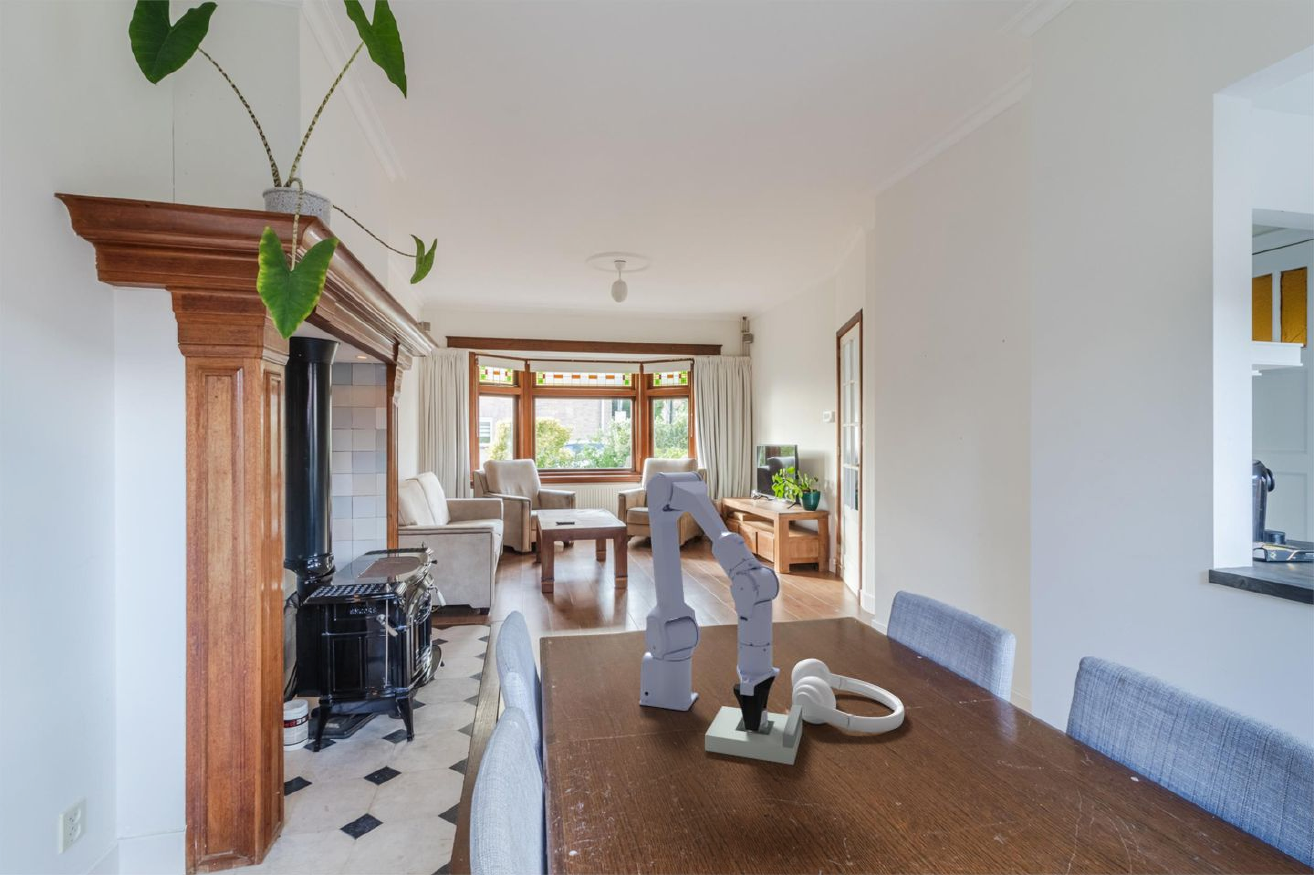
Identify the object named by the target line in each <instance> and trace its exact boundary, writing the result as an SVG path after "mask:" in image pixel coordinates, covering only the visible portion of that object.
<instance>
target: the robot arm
mask: <svg viewBox="0 0 1314 875" xmlns="http://www.w3.org/2000/svg"><path fill="white" fill-rule="evenodd" d="M645 489H646V501H647V511H648V512H647V513H648V520H649V531H650V542H651V543H650V544H651V553H652V565H653V567H652V568H653V576H654V587H655V598H656V604H655V606H654V607H653V608H652V609H651V610H650V612H648V614H647V615H646V617H645V620H646V628H645V631H644V632H645V633H644V644H645V647H646V649H647V651H646V652H645V653H644V655H643V657H642V658H641V664H640V700H639V702H638V705H641V706H647V707H655V708H663V709H668V710H675V711H683V712H686V711H688V710H689V708H691V706H692V704H693V703H694V702H695V700H696V699H697V698H698V697H699V694H698V692H692V655H693V654H695V648H697V647H698V645H699V644H700V641H701V629H700V627H699V624H698V621H697V617H696V611H695V610H694V609H693V608H692V607H691V606H690V605H688V604H687V603H686V602H685V593H684V592H685V591H684V584H683V574H682V572H683V571H682V561H681V553H680V552H681V551H680V543H679V542H680V541H679V539H680V538H679V531H678V521H679V519H680V518H681V516H682V515H683V514H684V513H685V512H686V513H689V515H691V517H692V519H694V520H695V522H696V523H697V525H698V526H700V528H701V529H702V530H703V532H704V533H705V534H706V535H707V537H708V538H709V539H710V541H711V542H712V546H711V553H712V555H713V556H714V558H715V560H716V561H717V563H718V564H719V566H720V567H721V568H722V570H723V572H724V573H725V574H726V576H727V577H728V579H729V581H730V582H731V584H729V591H730V595H731V597H732V599H733V602H734V606H735V607H734V611H735V612H736V614H737V666H736V673H737V677H738V678H739V681H740V682H739V683H735V684H734V685H733V687H732V688H733V695H734V696H735V697H736V700H737V702H738V704H739V707H740V709H741V712H742V716H743V721H744V725H745V729H746V730H750V731H758V730H759V727H760V723H761V716H762V709H763V708H765V709H766V710H767V707H768V700H769V695H770V692H771V687H772V685H773V683H774V681H775V679H776V677H779V676H780V673H781V672H780V671H781V669H780V668H778V667H774V666H773V601H774V600H775V599H776V598H778V596H779V593H780V587H781V586H780V580H779V578H778V576H777V574H776V571H775V570H774V569H773V568H772V567H770V566H768V565H764V564H763V563H762V562H761V561H759V560H758V559H757V558H756V556H755V555H754V553H752V551H751V550H750V548H749V547H748V544H746V543H745V542H746V539H745V538H744V537H743V536H742V535H740V534H739V533H737V532H731V531H729V529H728V528H727V526H726V525H725V523H724V520H723V519H722V517H721V516H720V514H719V512H718V510H717V509H716V508H715V505H714V504H713V502H712V500H711V499H710V497H709V496H708V484H707V483H706V482H705V481H704V478H702V475H700V473H698V472H697V471H695V470H694V471H693V470H691V471H686V472H684V471H683V472H680V471H679V472H661V471H658V472H655V473H654V474H652V476H651V477H650V479H649V480H648V482H647V484H646V485H645Z"/></svg>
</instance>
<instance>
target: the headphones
mask: <svg viewBox="0 0 1314 875" xmlns="http://www.w3.org/2000/svg"><path fill="white" fill-rule="evenodd" d="M791 685H792V693H791V695H792V696H791V698H792V699H791V700H792V701H791V702H792V705H793V704H795V705H802V720H804V721H805V722H807V723H810V724H813V725H820V724H821V725H822V724H825V723H826V722H827V723H829V724H832V725H834V726H837V727H839V728H842V729H844V731H854V732H860V733H862V732H863V733H884V732H889V731H890V732H891V731H893V730H896V729H897V728H899V727H900V726H901V725H902V724H903V722H904V718H905V707H904V704H903V703H902V702H903V701H901V700H900V699H899V697H898V696H896V695H894V693H891V692H889V691H888V690H886V689H884V688H882V687H879V686H877V685H875V684H872V683H870V682H867V681H863V680H860V679H856V678H852V677H847V676H844V675H838V674H834V673H832V672H831V671H830V669H829V667H828V666H827V664H825V663H824V662H823V661H822V660H819V659H818V658H817V659H816V658H807V659H804V660H800V661H799V662H797V663H796V665H795V666H794V667H793V669H792V671H791ZM832 688H833V689H836V690H839V691H847V692H850V693H851V692H852V693H855V694H859V695H862V696H865V697H868V698H870V699H873V700H875V701H877V702H880V703H881V704H883V705H885V706H887V707H888V708H890V709H891V710H892V711H893V710H894V711H893V713H892V714H889V715H887V716H881V717H880V716H878V717H877V716H876V717H875V716H874V717H873V716H871V717H867V716H858V715H855V714H850V713H847V712H844V711H841V710H838V709H837V700H836V697H835V696H836V695H835V693H834V691H833V689H832Z"/></svg>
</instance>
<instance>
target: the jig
mask: <svg viewBox="0 0 1314 875" xmlns="http://www.w3.org/2000/svg"><path fill="white" fill-rule="evenodd" d="M802 734H803V718H802V705H795V704H793V703H792V705H791V708H790V711H789V713H788V714H781V713H776V712H769V711H768V735H763V734H756V733H750V732H743V716H742V712H741V708H739V707H733V706H731V707H730V706H726V705H725V706H724V705H722V706H721V707H720V710H719V711H718V713H717V714H716V716H715V717H714V719H713V721H712V723H711V724H710V726H709V727H708V729H707V731H706V732H705V734H704V751H706V752H707V751H708V752H711V753H712V752H713V753H719V754H725V755H730V756H738V757H742V758H750V759H755V760H760V761H768V762H773V763H780V764H785V765H791V766H793V765H794V764H795V761H796V756H797V753H798V749H799V745H800V741H801V737H802Z"/></svg>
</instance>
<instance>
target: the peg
mask: <svg viewBox="0 0 1314 875" xmlns="http://www.w3.org/2000/svg"><path fill="white" fill-rule="evenodd" d="M768 712H769V711H768V710H767V708H766V709H765V708H763V709H762V716H761V723H760V727H759V730H758V731H750V730H746V729H745V725H744V721H743V732H750V733H756V734H763V735H768Z"/></svg>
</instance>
